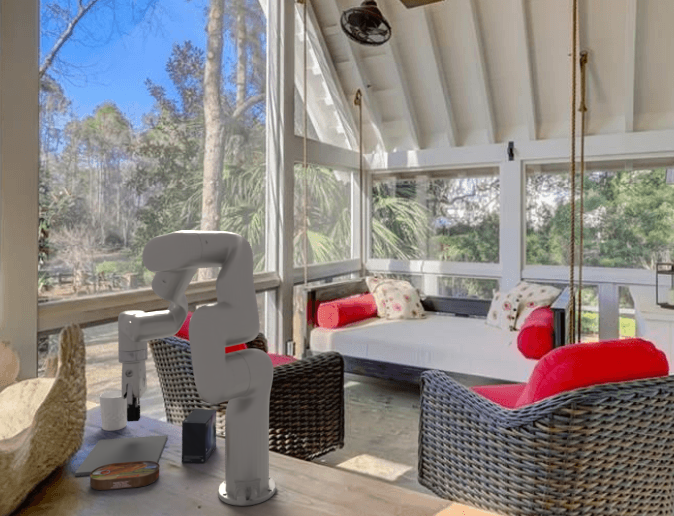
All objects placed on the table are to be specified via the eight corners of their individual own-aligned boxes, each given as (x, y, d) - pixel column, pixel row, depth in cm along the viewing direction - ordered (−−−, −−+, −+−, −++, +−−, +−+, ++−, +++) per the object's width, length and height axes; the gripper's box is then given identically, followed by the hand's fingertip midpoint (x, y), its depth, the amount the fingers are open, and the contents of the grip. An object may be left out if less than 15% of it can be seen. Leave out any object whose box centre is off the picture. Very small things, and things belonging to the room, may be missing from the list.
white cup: (111, 433, 142) (110, 399, 142) (94, 428, 146) (93, 395, 146) (134, 425, 149) (134, 392, 149) (117, 420, 153) (117, 388, 153)
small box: (206, 463, 123) (206, 422, 122) (180, 463, 123) (180, 422, 122) (217, 446, 133) (217, 408, 133) (194, 446, 133) (193, 408, 133)
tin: (162, 459, 119) (156, 472, 111) (162, 472, 119) (156, 486, 111) (96, 464, 116) (84, 478, 108) (96, 477, 116) (84, 492, 108)
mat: (155, 469, 119) (155, 466, 119) (75, 476, 116) (75, 472, 116) (167, 438, 139) (167, 435, 139) (99, 442, 135) (99, 439, 135)
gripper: (141, 360, 130) (142, 429, 130) (152, 349, 145) (152, 410, 145) (111, 362, 128) (112, 431, 129) (125, 349, 143) (125, 412, 144)
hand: (133, 420), depth 137 cm, fingers closed
